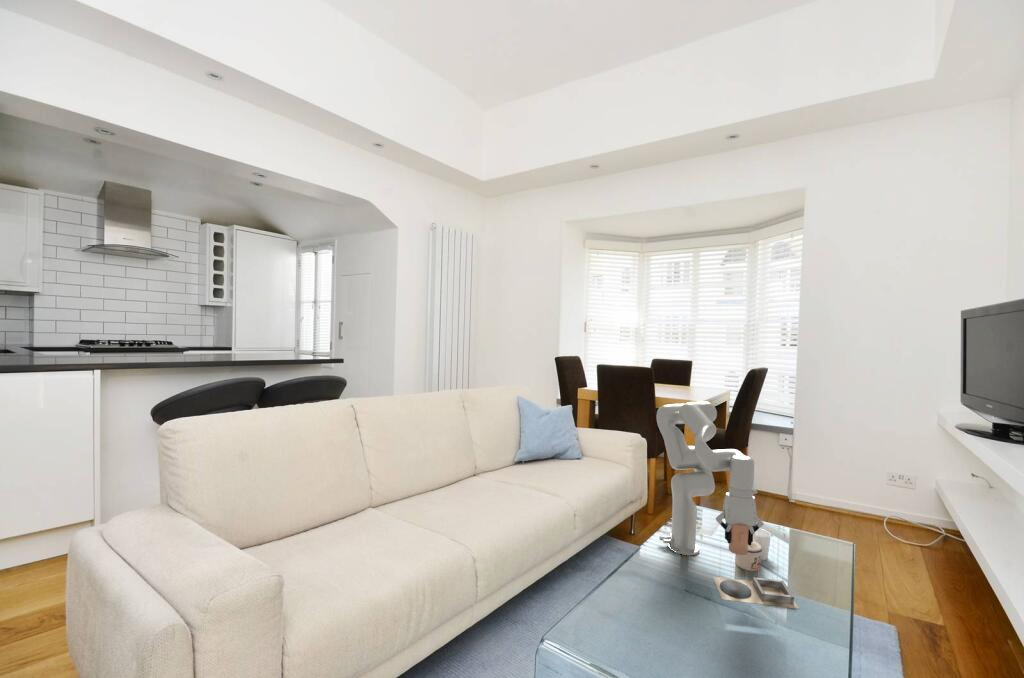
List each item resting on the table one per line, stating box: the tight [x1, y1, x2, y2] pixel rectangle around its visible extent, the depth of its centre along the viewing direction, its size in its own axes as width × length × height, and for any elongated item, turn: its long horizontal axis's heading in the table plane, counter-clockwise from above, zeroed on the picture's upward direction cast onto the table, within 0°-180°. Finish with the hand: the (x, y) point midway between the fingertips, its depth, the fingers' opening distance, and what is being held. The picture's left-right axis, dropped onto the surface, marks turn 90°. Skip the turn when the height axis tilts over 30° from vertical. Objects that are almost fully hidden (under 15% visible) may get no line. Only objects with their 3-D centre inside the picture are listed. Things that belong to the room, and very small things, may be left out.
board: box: [712, 576, 800, 610], centre depth 169 cm, size 24×14×4 cm, turn 80°
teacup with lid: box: [734, 541, 762, 572], centre depth 187 cm, size 12×9×12 cm
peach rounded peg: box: [728, 524, 749, 555], centre depth 168 cm, size 8×6×10 cm
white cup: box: [753, 527, 772, 561], centre depth 195 cm, size 8×8×10 cm
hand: (738, 542), depth 168 cm, fingers closed on peach rounded peg, 6 cm apart
